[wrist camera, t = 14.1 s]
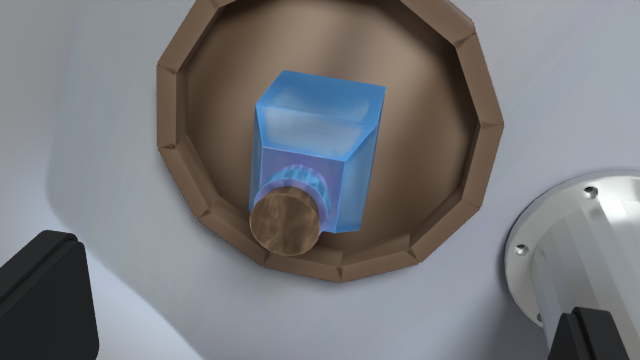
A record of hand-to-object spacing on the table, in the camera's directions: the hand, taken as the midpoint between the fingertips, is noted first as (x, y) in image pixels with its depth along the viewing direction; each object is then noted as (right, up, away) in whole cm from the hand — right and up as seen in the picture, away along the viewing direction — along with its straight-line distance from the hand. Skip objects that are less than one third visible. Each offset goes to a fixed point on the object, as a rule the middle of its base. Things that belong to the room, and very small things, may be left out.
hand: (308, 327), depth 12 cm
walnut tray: (+1, +7, +26) cm, 27 cm away
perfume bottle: (+1, +6, +25) cm, 26 cm away
